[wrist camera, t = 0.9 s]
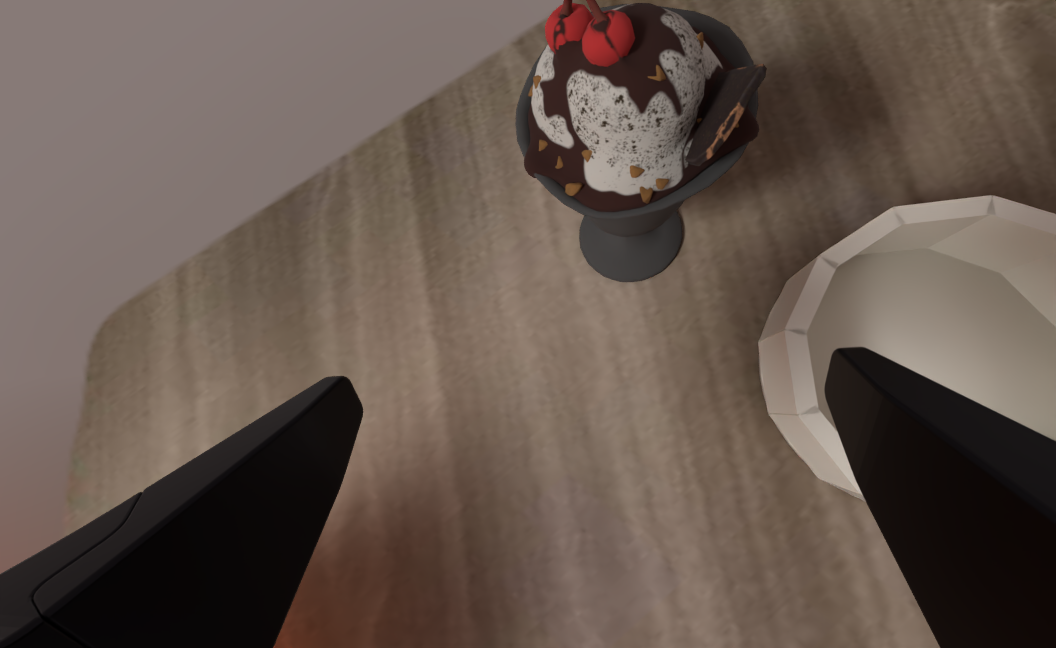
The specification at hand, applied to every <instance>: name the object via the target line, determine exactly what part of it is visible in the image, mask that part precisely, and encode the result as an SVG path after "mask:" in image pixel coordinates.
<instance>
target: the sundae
mask: <svg viewBox="0 0 1056 648" xmlns="http://www.w3.org/2000/svg"><path fill="white" fill-rule="evenodd" d="M586 1H587V3H588V5H589V7H590V9H591V11H592V12H590V11H589V10H588V9H587V8H586V7H585V5H581V4H575V3H572V0H564V3H563V5H561V6H559V7H558V8H557V9H556V10H555V11H554V12H553V13H552V14H551V15H550V17H549V18H548V20H547V23H546V26H545V33H546V39H547V42H548V45H547V47H546V48H545V49H544V51H543V52H542V54H541V55H540V57H539V58H538V59H537V61H536V62H535V64H534V66H533V68H532V70H531V72H530V74H529V76H528V78H527V80H526V83H525V85H524V88H523V90H522V93H521V95H520V99H519V102H518V105H517V109H516V133H517V141H518V144H519V146H520V149H521V151H522V154H523V156H524V166H525V169H526V171H527V173H528V174H529V175H530V176H532V177H533V178H537V179H538V180H539V181H540V182H541V183H542V184H543V185H544V186H545V188H546V189H547V190H548V191H549V192H550V193H551V194H553V195H554V196H555V197H556V198H557V199H558V200H560V201H561V202H562V203H563V204H564V205H566V206H568V207H570V208H572V209H573V210H575V211H577V212H579V213H581V214H583V215H585V216H584V218H583V220H582V223H581V227H580V237H579V239H580V248H581V250H582V252H583V255H584V257H585V258H586V260H587V262H588V264H589V265H590V266H591V267H592V268H594V269H595V270H596V271H597V272H598V273H600V274H601V275H602V276H604V277H607V278H610V279H612V280H616V281H620V282H635V281H642V280H645V279H648V278H650V277H653V276H654V275H656V274H658V273H660V272H662V271H663V270H664V269H665V268H666V267H667V266H668V265H669V264H670V263H671V261H672V260H673V259H674V258H675V256H676V254H677V252H678V249H679V247H680V243H681V240H682V226H681V220H680V217H679V215H678V213H677V211H676V210H677V209H678V208H679V207H680V206H681V205H682V203H683V201H684V200H685V199H687V198H689V197H691V196H692V195H694V194H696V193H698V192H700V191H702V190H703V189H705V188H707V187H709V186H710V185H711V184H712V183H714V182H715V181H716V180H717V179H718V178H720V177H721V176H722V175H723V174H724V173H726V172H727V171H728V170H729V169H730V168H731V167H732V166H733V165H734V164H735V163H736V161H737V160H738V159H739V158H740V157H741V155H742V153H743V152H744V150H745V148H746V146H747V145H748V143H749V142H750V141H752V140H753V139H755V138H756V137H757V135H758V132H759V126H758V123H757V121H756V114H757V109H758V92H757V89H758V87H759V86H760V84H761V82H762V81H763V79H764V78H765V75H766V70H767V68H766V67H765V66H764V64H759V65H753V61H752V59H751V57H750V55H749V53H748V52H747V50H746V48H745V46H744V44H743V43H742V41H741V40H740V39H739V38H738V37H737V36H736V34H735V33H734V32H733V31H732V30H731V29H730V28H729V27H728V26H727V25H725V24H723V23H721V22H719V21H717V20H715V19H714V18H712V17H709V16H706V15H703V14H700V13H698V12H695V11H688V10H681V9H675V8H668V7H660V6H656V5H653V4H650V3H635V4H622V5H615V6H609V7H603V8H599V6H598V4H597V2H596V1H595V0H586Z"/></svg>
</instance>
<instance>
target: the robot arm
mask: <svg viewBox="0 0 1056 648" xmlns="http://www.w3.org/2000/svg"><path fill="white" fill-rule="evenodd" d="M824 392H825V398H826V402H827V404H828V407H829V410H830V412H831V415H832V418H833V421H834V423H835V426H836V429H837V432H838V434H839V437H840V440H841V443H842V445H843V448H844V451H845V454H846V456H847V459H848V462H849V464H850V467H851V470H852V472H853V475H854V477H855V480H856V482H857V484H858V486H859V488H860V491H861V493H862V495H863V497H864V499H865V501H866V503H867V505H868V507H869V509H870V511H871V513H872V514H873V516H874V518H875V520H876V522H877V524H878V526H879V528H880V530H881V532H882V534H883V536H884V538H885V540H886V542H887V544H888V546H889V548H890V550H891V552H892V554H893V556H894V558H895V560H896V562H897V564H898V566H899V568H900V570H901V572H902V573H903V575H904V577H905V579H906V581H907V583H908V585H909V587H910V589H911V591H912V593H913V595H914V597H915V599H916V601H917V603H918V605H919V607H920V609H921V611H922V613H923V615H924V617H925V619H926V621H927V623H928V625H929V627H930V629H931V630H932V632H933V634H934V636H935V638H936V640H937V642H938V644H939V646H940V648H1056V441H1055V440H1053V439H1051V438H1049V437H1047V436H1045V435H1043V434H1041V433H1039V432H1036V431H1034V430H1032V429H1030V428H1028V427H1026V426H1024V425H1022V424H1020V423H1018V422H1016V421H1014V420H1012V419H1010V418H1008V417H1006V416H1004V415H1002V414H1000V413H998V412H996V411H994V410H992V409H990V408H988V407H986V406H984V405H982V404H980V403H978V402H976V401H974V400H971V399H969V398H967V397H965V396H963V395H961V394H959V393H957V392H955V391H953V390H951V389H949V388H947V387H945V386H943V385H941V384H939V383H937V382H935V381H933V380H931V379H929V378H927V377H925V376H923V375H921V374H919V373H917V372H915V371H913V370H911V369H909V368H906V367H904V366H902V365H900V364H898V363H896V362H894V361H892V360H890V359H888V358H886V357H884V356H882V355H880V354H878V353H876V352H874V351H872V350H870V349H868V348H865V347H845V348H837V349H836V350H834V352H833V353H832V356H831V359H830V364H829V368H828V373H827V377H826V382H825V387H824ZM362 417H363V407H362V404H361V402H360V400H359V398H358V395H357V393H356V391H355V389H354V387H353V385H352V383H351V381H350V380H349V379H348V378H347V377H345V376H332V377H326V378H324V379H322V380H320V381H319V382H317V383H316V384H314V385H312V386H311V387H309V388H308V389H306V390H304V391H303V392H301V393H299V394H298V395H296V396H295V397H293V398H291V399H290V400H288V401H286V402H285V403H283V404H282V405H280V406H278V407H277V408H275V409H274V410H272V411H270V412H269V413H267V414H265V415H264V416H262V417H261V418H259V419H257V420H256V421H254V422H252V423H251V424H249V425H248V426H246V427H244V428H243V429H241V430H240V431H238V432H236V433H235V434H233V435H231V436H230V437H228V438H227V439H225V440H223V441H222V442H220V443H219V444H217V445H215V446H214V447H212V448H210V449H209V450H207V451H206V452H204V453H202V454H201V455H199V456H197V457H196V458H194V459H193V460H191V461H189V462H188V463H186V464H185V465H183V466H181V467H180V468H178V469H176V470H175V471H173V472H172V473H170V474H168V475H167V476H165V477H163V478H162V479H160V480H159V481H157V482H155V483H154V484H152V485H151V486H149V487H147V488H146V489H145V490H144V491H143V492H139V493H137V494H136V495H134V496H133V497H131V498H129V499H128V500H126V501H124V502H123V503H121V504H120V505H118V506H116V507H115V508H113V509H111V510H110V511H108V512H106V513H105V514H103V515H101V516H100V517H98V518H97V519H95V520H93V521H92V522H90V523H88V524H87V525H85V526H83V527H82V528H80V529H78V530H76V531H75V532H73V533H71V534H70V535H68V536H66V537H64V538H63V539H61V540H59V541H57V542H56V543H54V544H52V545H50V546H49V547H47V548H45V549H44V550H42V551H40V552H38V553H37V554H35V555H33V556H31V557H30V558H28V559H26V560H24V561H23V562H21V563H19V564H17V565H16V566H14V567H12V568H10V569H8V570H7V571H5V572H3V573H1V574H0V648H273V647H274V644H275V642H276V640H277V637H278V635H279V633H280V630H281V628H282V625H283V623H284V621H285V618H286V616H287V614H288V611H289V609H290V606H291V604H292V602H293V599H294V597H295V594H296V592H297V590H298V587H299V585H300V583H301V580H302V578H303V575H304V573H305V571H306V568H307V566H308V563H309V561H310V559H311V556H312V554H313V552H314V549H315V547H316V544H317V542H318V540H319V537H320V535H321V532H322V530H323V528H324V525H325V523H326V521H327V518H328V516H329V513H330V511H331V509H332V506H333V504H334V502H335V499H336V497H337V494H338V492H339V489H340V487H341V484H342V481H343V478H344V475H345V472H346V469H347V466H348V463H349V459H350V456H351V453H352V450H353V446H354V443H355V440H356V437H357V433H358V430H359V427H360V424H361V420H362Z"/></svg>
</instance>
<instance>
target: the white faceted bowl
mask: <svg viewBox="0 0 1056 648" xmlns="http://www.w3.org/2000/svg"><path fill="white" fill-rule="evenodd" d="M758 342H759V343H758V347H759V360H758V362H759V377H760V382H761V387H762V392H763V396H764V399H765V402H766V404H767V411H768V413H769V416H770V417H771V418H772V419H773V421H774V422H775V424H776V426H777V428H778V430H779V431H780V433H781V434H782V436H783V437H784V439H785V440H786V442H787V443H788V444H789V446H790V447H791V448H792V449H793V450H794V451H795V452H796V454H797V455H798V456H799V457H800V458H801V459H802V460H803V461H804V462H805V463H806V464H807V465H808V466H809V467H810V469H811V470H812V471H813V472H814V474H815V475H816V476H817V477H818V478H819V479H821V480H823V481H825V482H827V483H829V484H831V485H833V486H835V487H837V488H839V489H841V490H843V491H845V492H847V493H849V494H850V495H852V496H855V497H857V498H859V499H861V500H864V501H865V499H864V497H863V495H862V493H861V491H860V488H859V486H858V484H857V482H856V480H855V477H854V475H853V472H852V470H851V467H850V464H849V462H848V459H847V456H846V454H845V451H844V448H843V445H842V443H841V440H840V437H839V434H838V432H837V429H836V426H835V423H834V421H833V418H832V415H831V412H830V410H829V407H828V404H827V402H826V398H825V392H824V387H825V382H826V377H827V373H828V368H829V364H830V359H831V356H832V353H833V352H834V350H836V349H837V348H845V347H865V348H868V349H870V350H872V351H874V352H876V353H878V354H880V355H882V356H884V357H886V358H888V359H890V360H892V361H894V362H896V363H898V364H900V365H902V366H904V367H906V368H909V369H911V370H913V371H915V372H917V373H919V374H921V375H923V376H925V377H927V378H929V379H931V380H933V381H935V382H937V383H939V384H941V385H943V386H945V387H947V388H949V389H951V390H953V391H955V392H957V393H959V394H961V395H963V396H965V397H967V398H969V399H971V400H974V401H976V402H978V403H980V404H982V405H984V406H986V407H988V408H990V409H992V410H994V411H996V412H998V413H1000V414H1002V415H1004V416H1006V417H1008V418H1010V419H1012V420H1014V421H1016V422H1018V423H1020V424H1022V425H1024V426H1026V427H1028V428H1030V429H1032V430H1034V431H1036V432H1039V433H1041V434H1043V435H1045V436H1047V437H1049V438H1051V439H1053V440H1055V441H1056V214H1054V213H1051V212H1047V211H1044V210H1041V209H1037V208H1034V207H1031V206H1027V205H1024V204H1021V203H1017V202H1014V201H1011V200H1007V199H1004V198H1001V197H997V196H994V195H993V196H992V195H988V196H980V197H971V198H963V199H955V200H946V201H938V202H929V203H921V204H912V205H904V206H896V207H892V208H890V209H889V210H887V211H886V212H884V213H883V214H881V215H879V216H878V217H876V218H875V219H873V220H872V221H870V222H869V223H867V224H866V225H864V226H863V227H861V228H860V229H858V230H857V231H855V232H854V233H852V234H851V235H849V236H847V237H846V238H844V239H843V240H841V241H840V242H838V243H837V244H835V245H834V246H832V247H831V248H829V249H828V250H826V251H825V252H823V253H822V254H820V255H819V256H817V257H816V258H815V259H814V260H812V261H811V262H810V263H809V264H807V265H806V266H805V267H804V268H802V269H801V270H800V271H798V272H797V273H796V274H795V275H793V276H792V277H791V278H790V279H788V280H787V281H786V283H785V286H784V288H783V290H782V292H781V294H780V296H779V297H778V299H777V300H776V302H775V304H774V306H773V307H772V309H771V311H770V313H769V315H768V318H767V320H766V323H765V325H764V328H763V332H762V335H761V337H760V339H759V341H758Z"/></svg>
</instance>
